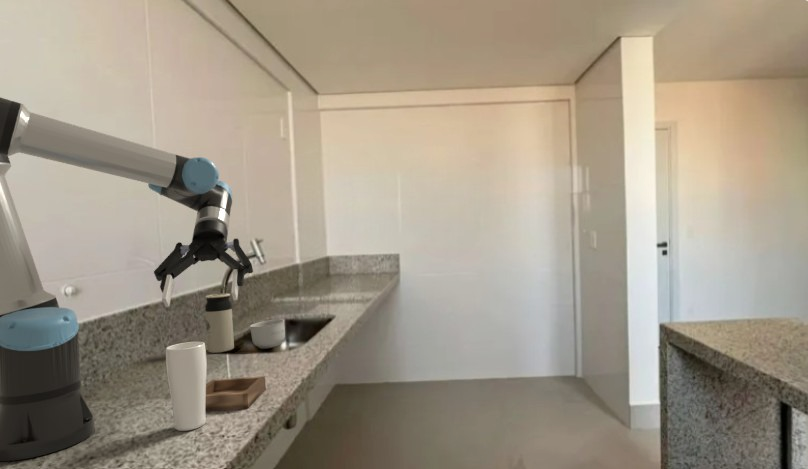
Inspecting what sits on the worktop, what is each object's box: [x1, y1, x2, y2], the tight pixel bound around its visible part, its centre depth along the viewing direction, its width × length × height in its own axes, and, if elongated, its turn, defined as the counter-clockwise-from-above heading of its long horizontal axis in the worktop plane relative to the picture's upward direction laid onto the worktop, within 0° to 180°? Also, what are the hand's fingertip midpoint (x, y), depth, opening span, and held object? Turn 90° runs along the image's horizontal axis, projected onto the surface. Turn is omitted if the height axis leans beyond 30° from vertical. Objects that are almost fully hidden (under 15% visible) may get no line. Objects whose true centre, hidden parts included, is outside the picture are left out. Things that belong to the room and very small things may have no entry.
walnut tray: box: [205, 375, 267, 412], centre depth 101 cm, size 12×12×3 cm
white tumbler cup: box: [165, 341, 208, 432], centre depth 87 cm, size 7×7×15 cm
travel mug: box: [204, 293, 235, 354], centre depth 153 cm, size 8×8×18 cm
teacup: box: [249, 319, 286, 350], centre depth 156 cm, size 14×11×8 cm
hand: (200, 299), depth 98 cm, fingers open, 13 cm apart
